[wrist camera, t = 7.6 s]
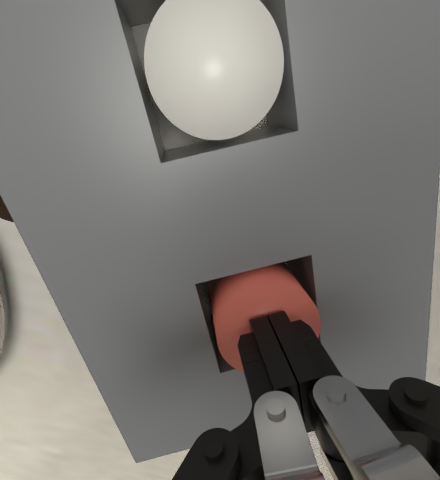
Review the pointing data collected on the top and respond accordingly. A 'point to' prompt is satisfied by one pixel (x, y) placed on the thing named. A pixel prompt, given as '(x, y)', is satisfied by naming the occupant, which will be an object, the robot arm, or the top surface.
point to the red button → (256, 304)
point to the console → (224, 199)
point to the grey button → (214, 65)
